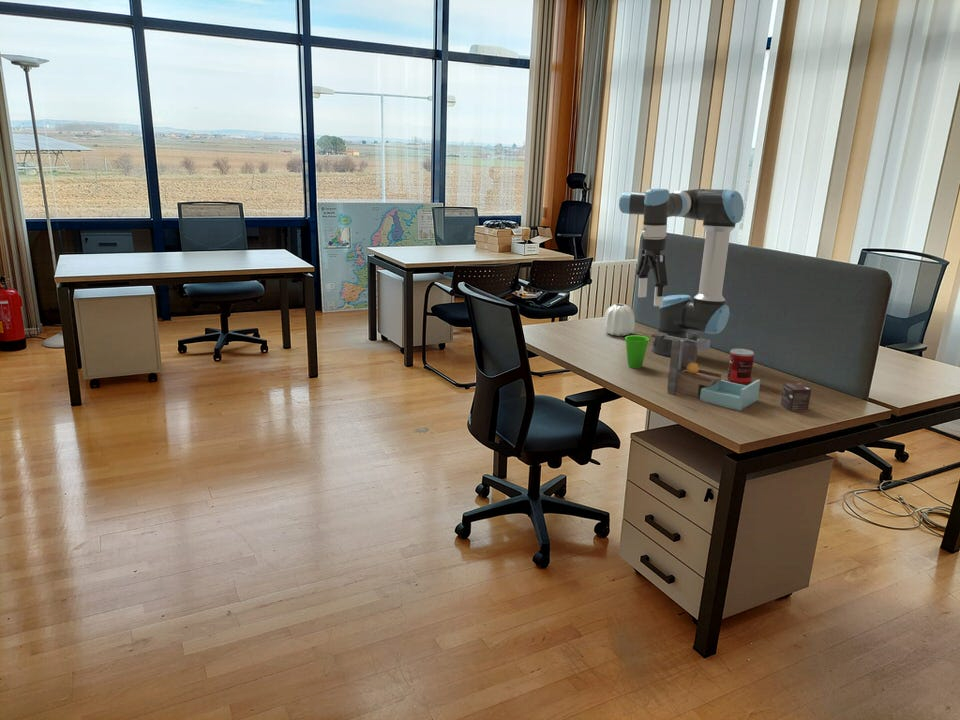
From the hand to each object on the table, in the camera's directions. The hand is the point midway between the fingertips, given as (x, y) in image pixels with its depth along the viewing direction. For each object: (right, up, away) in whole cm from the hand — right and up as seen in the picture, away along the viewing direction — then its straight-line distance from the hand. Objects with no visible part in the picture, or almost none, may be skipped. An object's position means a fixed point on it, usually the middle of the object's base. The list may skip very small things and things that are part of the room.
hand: (649, 301), depth 229 cm
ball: (+15, -24, +1) cm, 29 cm away
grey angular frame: (+15, -30, +3) cm, 34 cm away
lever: (+11, -23, +4) cm, 26 cm away
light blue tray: (+24, -33, -6) cm, 41 cm away
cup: (+2, -22, +30) cm, 37 cm away
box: (+43, -35, -12) cm, 57 cm away
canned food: (+35, -27, +14) cm, 46 cm away
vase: (+5, -8, +77) cm, 78 cm away
